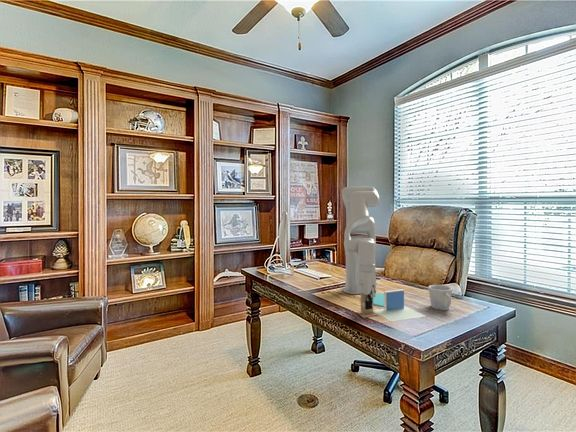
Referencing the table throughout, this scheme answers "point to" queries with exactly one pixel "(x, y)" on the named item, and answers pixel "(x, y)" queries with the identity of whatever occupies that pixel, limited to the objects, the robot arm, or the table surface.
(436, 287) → the mug
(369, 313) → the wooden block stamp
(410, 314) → the board
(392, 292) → the tile
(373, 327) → the table surface
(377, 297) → the plaque
